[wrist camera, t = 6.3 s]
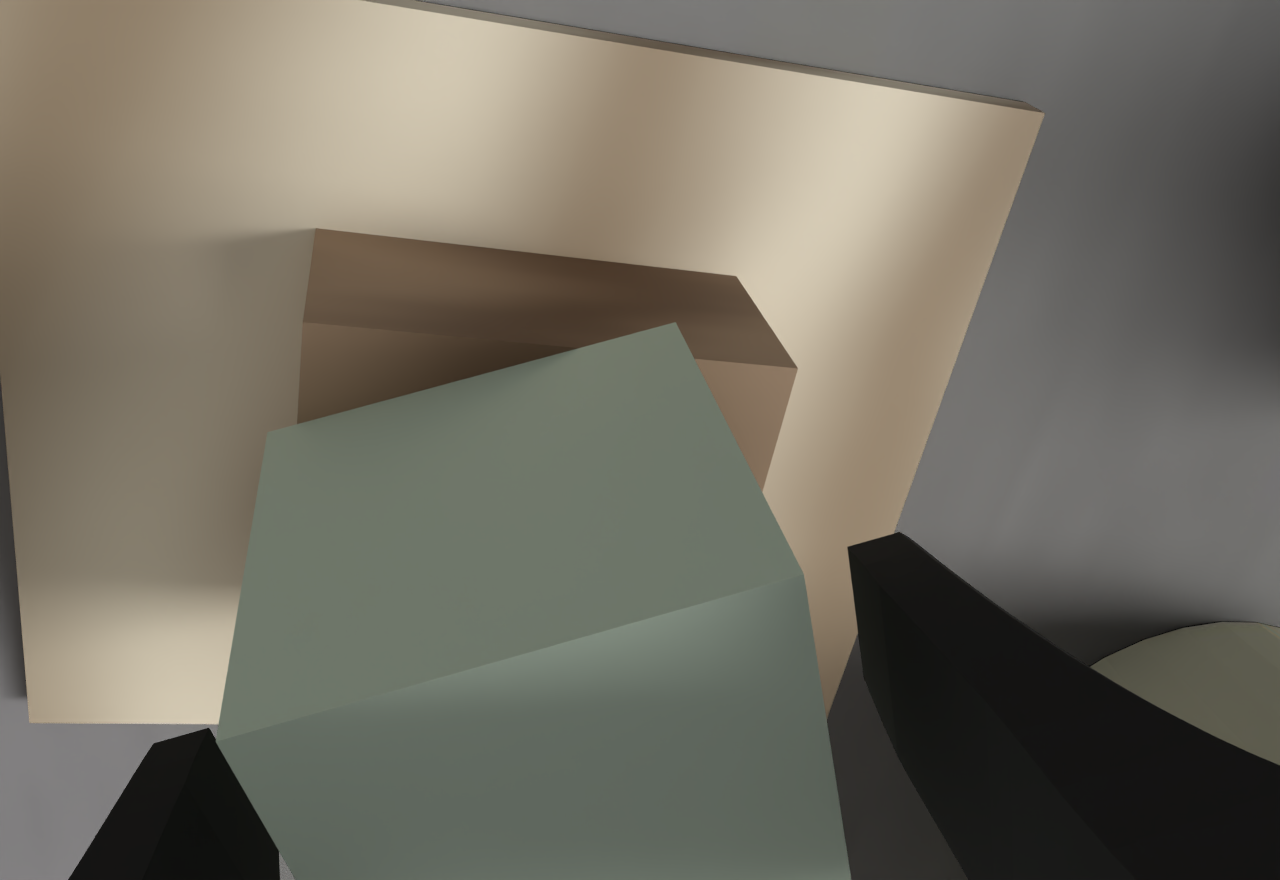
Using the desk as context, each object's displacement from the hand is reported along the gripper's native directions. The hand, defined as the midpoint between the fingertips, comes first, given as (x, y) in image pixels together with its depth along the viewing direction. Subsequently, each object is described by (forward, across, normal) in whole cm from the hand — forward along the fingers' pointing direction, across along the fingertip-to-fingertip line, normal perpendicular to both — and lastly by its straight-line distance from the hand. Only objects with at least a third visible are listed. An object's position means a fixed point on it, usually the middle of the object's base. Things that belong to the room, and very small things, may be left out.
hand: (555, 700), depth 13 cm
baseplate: (+6, 0, 0) cm, 6 cm away
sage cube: (+3, 0, 0) cm, 3 cm away
